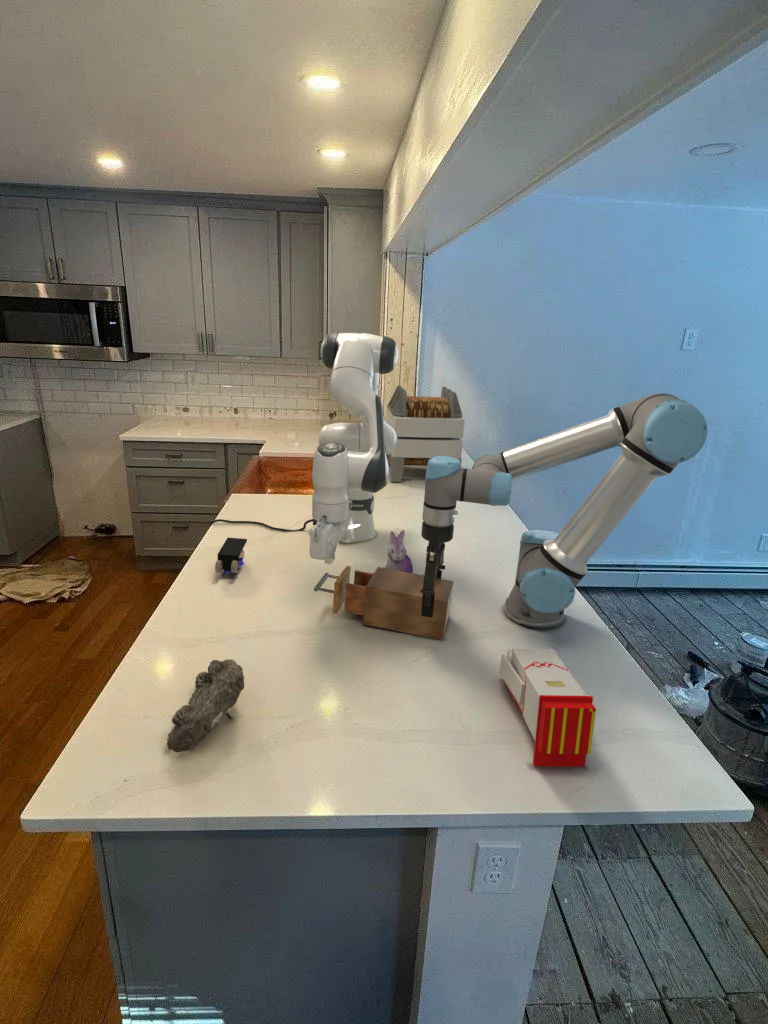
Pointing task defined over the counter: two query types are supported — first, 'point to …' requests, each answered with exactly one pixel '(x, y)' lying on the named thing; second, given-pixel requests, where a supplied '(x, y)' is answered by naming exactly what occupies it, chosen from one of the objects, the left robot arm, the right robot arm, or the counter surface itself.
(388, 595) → the cabinet
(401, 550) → the figurine
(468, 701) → the counter surface
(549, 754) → the toy
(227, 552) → the black toy rover
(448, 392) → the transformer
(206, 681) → the fossil
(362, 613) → the drawer
